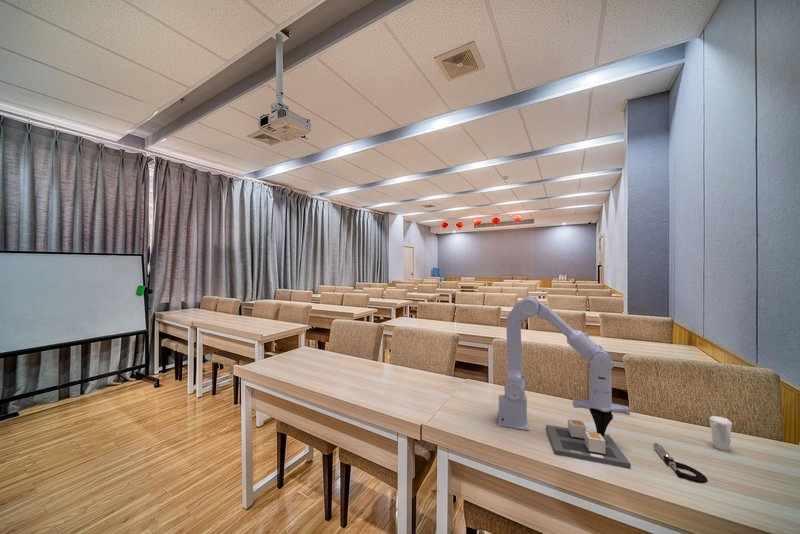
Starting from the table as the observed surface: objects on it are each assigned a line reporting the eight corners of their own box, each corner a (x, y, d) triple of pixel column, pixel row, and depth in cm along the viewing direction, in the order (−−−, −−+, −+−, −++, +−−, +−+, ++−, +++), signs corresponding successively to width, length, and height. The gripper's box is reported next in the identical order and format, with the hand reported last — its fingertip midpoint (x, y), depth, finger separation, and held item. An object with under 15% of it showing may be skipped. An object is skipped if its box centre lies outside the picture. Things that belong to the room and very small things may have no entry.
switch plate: (555, 454, 82) (555, 449, 82) (545, 428, 96) (545, 424, 96) (630, 468, 76) (630, 463, 76) (609, 438, 90) (609, 434, 90)
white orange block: (571, 436, 88) (571, 424, 88) (567, 429, 92) (567, 418, 92) (586, 438, 87) (585, 426, 87) (582, 432, 91) (582, 420, 91)
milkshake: (723, 444, 88) (722, 411, 89) (737, 454, 83) (736, 419, 84) (704, 441, 90) (703, 408, 90) (716, 450, 85) (715, 416, 85)
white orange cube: (588, 451, 81) (588, 437, 81) (584, 443, 85) (584, 430, 85) (605, 454, 80) (605, 440, 80) (600, 446, 83) (600, 433, 84)
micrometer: (714, 488, 70) (714, 477, 70) (676, 479, 73) (676, 469, 73) (682, 454, 84) (682, 445, 84) (651, 448, 86) (651, 439, 87)
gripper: (576, 390, 87) (577, 436, 86) (634, 398, 82) (635, 446, 82) (570, 382, 93) (571, 425, 93) (623, 389, 89) (624, 433, 88)
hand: (600, 434), depth 88 cm, fingers closed
